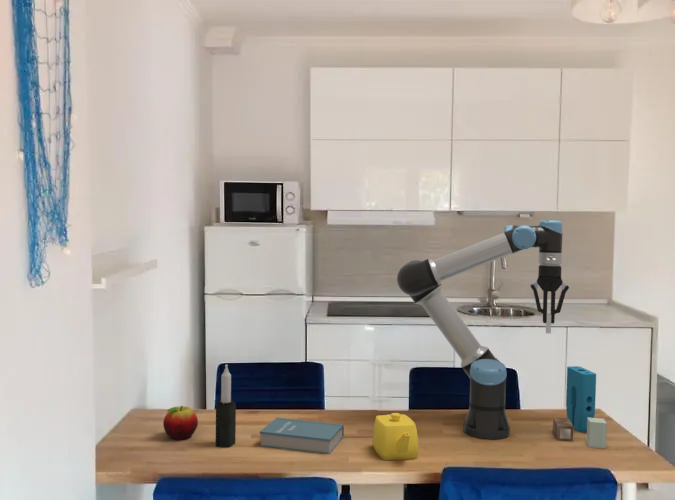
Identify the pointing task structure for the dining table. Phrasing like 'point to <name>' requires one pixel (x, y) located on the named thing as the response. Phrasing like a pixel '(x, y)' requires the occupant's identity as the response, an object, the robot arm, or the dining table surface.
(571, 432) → the walnut pillar
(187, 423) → the fruit
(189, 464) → the dining table surface
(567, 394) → the block
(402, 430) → the teapot
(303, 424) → the book
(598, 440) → the sage pillar
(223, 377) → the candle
